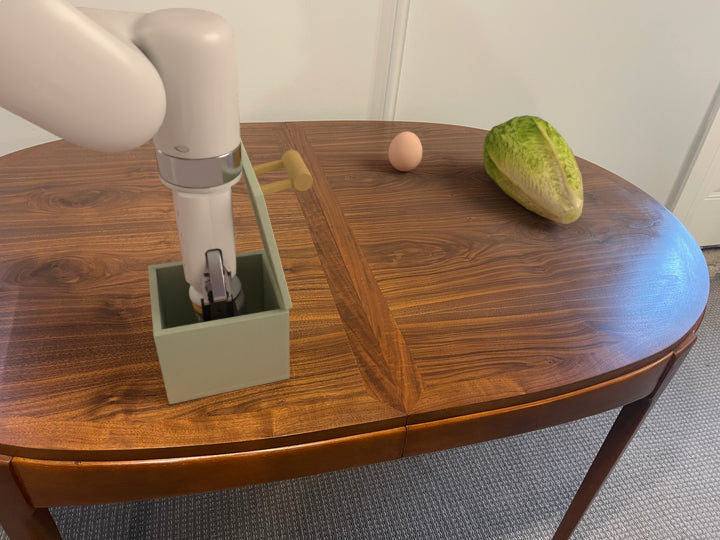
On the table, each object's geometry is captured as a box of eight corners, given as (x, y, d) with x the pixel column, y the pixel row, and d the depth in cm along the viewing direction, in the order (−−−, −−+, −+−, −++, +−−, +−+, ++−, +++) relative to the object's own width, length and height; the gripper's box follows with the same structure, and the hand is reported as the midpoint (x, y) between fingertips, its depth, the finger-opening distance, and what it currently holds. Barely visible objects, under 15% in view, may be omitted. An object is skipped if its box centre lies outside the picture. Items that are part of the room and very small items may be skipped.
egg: (379, 168, 106) (383, 131, 102) (400, 158, 111) (405, 122, 106) (405, 181, 103) (411, 143, 98) (426, 170, 107) (432, 133, 102)
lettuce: (528, 210, 85) (616, 166, 83) (464, 127, 101) (538, 88, 99) (538, 260, 96) (616, 221, 94) (479, 178, 112) (545, 143, 110)
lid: (254, 196, 47) (319, 178, 48) (232, 139, 55) (288, 125, 56) (285, 310, 56) (339, 293, 57) (263, 246, 65) (310, 232, 66)
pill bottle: (200, 352, 61) (175, 288, 55) (208, 316, 65) (186, 253, 59) (250, 348, 61) (231, 284, 55) (255, 312, 65) (238, 249, 59)
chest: (169, 405, 59) (153, 336, 52) (162, 332, 68) (147, 265, 61) (289, 378, 63) (289, 312, 57) (269, 313, 72) (266, 248, 65)
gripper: (151, 123, 54) (174, 264, 65) (163, 213, 42) (188, 369, 53) (227, 119, 56) (236, 256, 68) (259, 203, 44) (264, 354, 55)
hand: (215, 304), depth 60 cm, fingers closed on pill bottle, 5 cm apart
